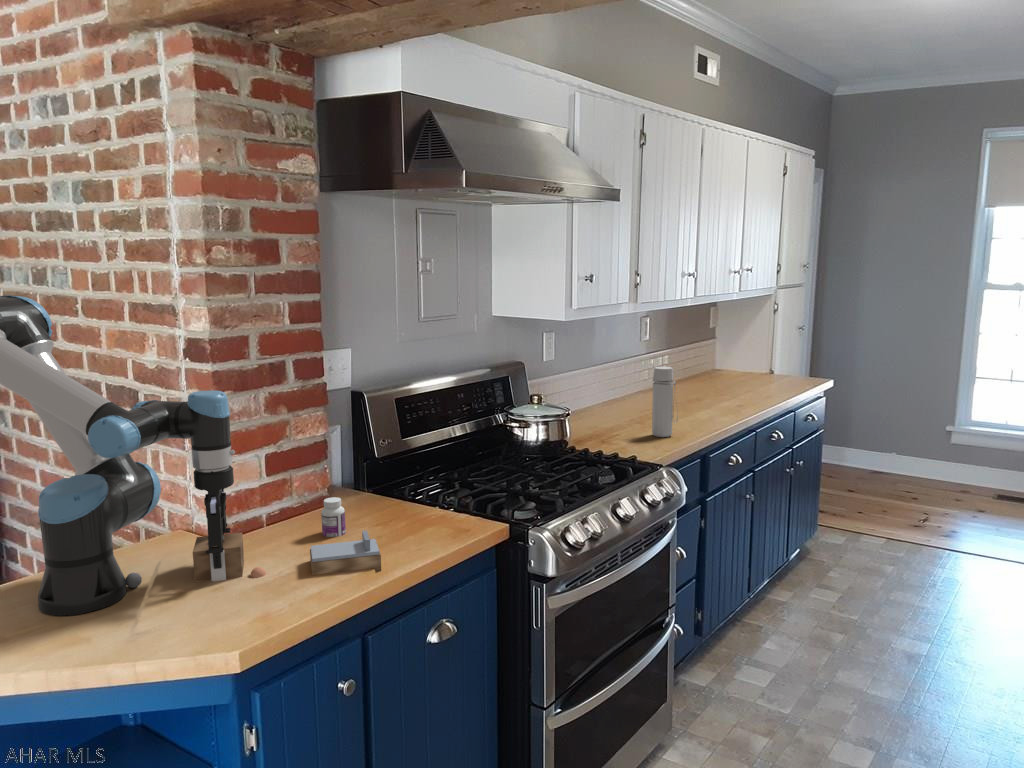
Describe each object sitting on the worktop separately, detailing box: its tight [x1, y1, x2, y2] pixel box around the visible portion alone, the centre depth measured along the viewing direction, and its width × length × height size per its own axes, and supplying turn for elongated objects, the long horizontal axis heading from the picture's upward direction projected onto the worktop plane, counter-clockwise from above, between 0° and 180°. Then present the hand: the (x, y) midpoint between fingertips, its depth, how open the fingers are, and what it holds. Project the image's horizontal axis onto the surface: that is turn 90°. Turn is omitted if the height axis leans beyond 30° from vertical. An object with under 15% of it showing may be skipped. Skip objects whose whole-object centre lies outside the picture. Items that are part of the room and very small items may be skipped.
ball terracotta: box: [250, 566, 267, 578], centre depth 161 cm, size 3×3×3 cm
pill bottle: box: [320, 496, 347, 538], centre depth 185 cm, size 5×5×10 cm
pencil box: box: [309, 548, 382, 576], centre depth 166 cm, size 14×8×4 cm, turn 106°
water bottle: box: [651, 366, 679, 438], centre depth 287 cm, size 9×8×25 cm
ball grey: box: [125, 572, 143, 589], centre depth 159 cm, size 3×3×3 cm
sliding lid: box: [310, 530, 381, 562], centre depth 166 cm, size 14×8×3 cm, turn 106°
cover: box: [192, 532, 245, 583], centre depth 163 cm, size 9×9×8 cm
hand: (220, 573), depth 163 cm, fingers closed on cover, 9 cm apart
